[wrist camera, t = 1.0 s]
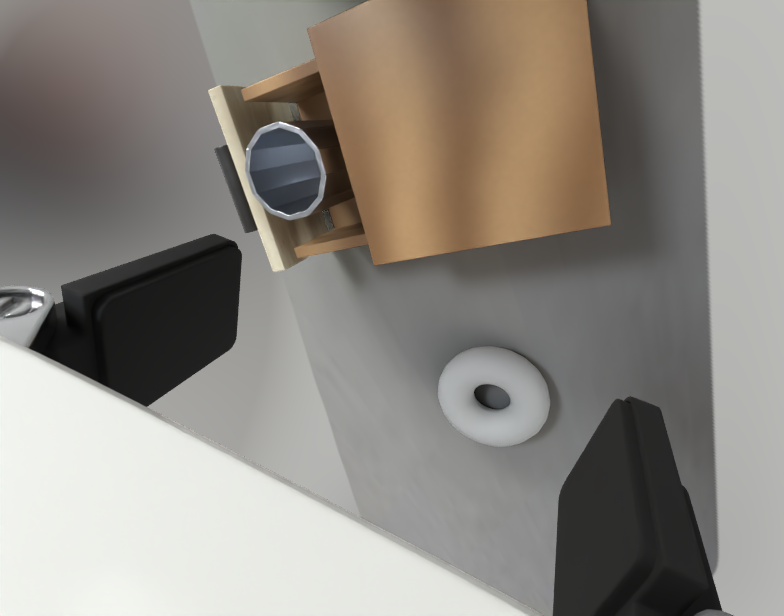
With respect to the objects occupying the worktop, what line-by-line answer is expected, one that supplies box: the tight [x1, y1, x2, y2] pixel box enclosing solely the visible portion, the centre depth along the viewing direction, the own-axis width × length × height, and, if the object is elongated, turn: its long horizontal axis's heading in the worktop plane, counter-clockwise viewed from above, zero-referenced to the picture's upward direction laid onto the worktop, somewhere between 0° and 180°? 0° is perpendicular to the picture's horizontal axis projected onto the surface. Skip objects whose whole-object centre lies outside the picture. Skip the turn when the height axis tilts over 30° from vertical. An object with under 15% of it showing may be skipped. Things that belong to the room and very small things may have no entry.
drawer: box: [208, 59, 368, 272], centre depth 34 cm, size 18×13×8 cm
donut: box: [438, 346, 550, 446], centre depth 40 cm, size 10×3×10 cm
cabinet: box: [307, 0, 611, 265], centre depth 29 cm, size 15×15×10 cm
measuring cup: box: [245, 119, 355, 220], centre depth 32 cm, size 6×6×9 cm
